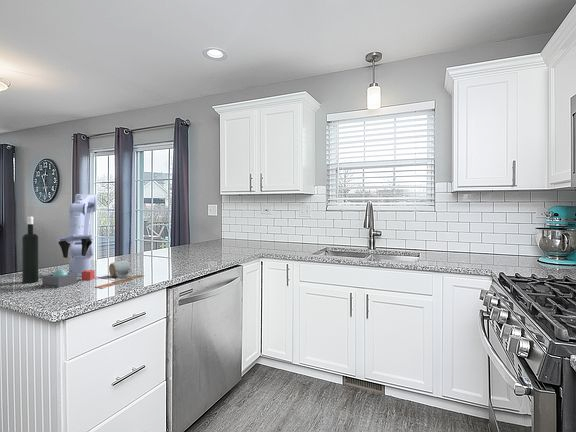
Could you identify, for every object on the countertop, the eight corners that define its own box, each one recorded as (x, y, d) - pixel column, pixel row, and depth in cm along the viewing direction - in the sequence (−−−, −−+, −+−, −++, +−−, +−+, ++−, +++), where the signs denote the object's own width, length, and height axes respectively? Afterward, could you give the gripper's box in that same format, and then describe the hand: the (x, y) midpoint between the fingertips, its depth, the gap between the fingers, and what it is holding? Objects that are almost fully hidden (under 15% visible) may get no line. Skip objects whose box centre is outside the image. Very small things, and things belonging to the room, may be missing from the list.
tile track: (95, 287, 141) (95, 287, 141) (137, 275, 167) (137, 274, 167) (102, 288, 140) (102, 287, 140) (144, 276, 166) (144, 275, 166)
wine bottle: (36, 279, 152) (36, 216, 151) (40, 282, 148) (39, 216, 148) (20, 282, 148) (20, 216, 147) (24, 284, 144) (24, 216, 143)
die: (81, 280, 154) (81, 271, 154) (86, 278, 158) (86, 269, 158) (90, 280, 154) (90, 271, 154) (94, 278, 158) (94, 269, 158)
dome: (49, 279, 143) (49, 269, 143) (60, 277, 148) (60, 267, 148) (59, 280, 142) (59, 270, 141) (70, 278, 147) (70, 268, 147)
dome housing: (42, 285, 142) (42, 275, 142) (61, 281, 150) (61, 271, 150) (58, 287, 140) (58, 277, 139) (76, 283, 148) (76, 273, 148)
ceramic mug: (107, 275, 164) (108, 260, 164) (124, 273, 170) (124, 259, 170) (116, 279, 157) (116, 264, 157) (133, 277, 163) (133, 262, 163)
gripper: (54, 226, 145) (51, 256, 141) (89, 223, 147) (87, 252, 143) (63, 231, 152) (60, 259, 148) (96, 228, 154) (94, 256, 149)
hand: (74, 256), depth 146 cm, fingers open, 7 cm apart
